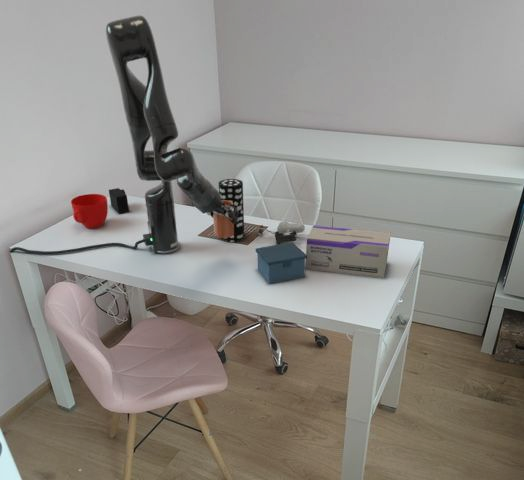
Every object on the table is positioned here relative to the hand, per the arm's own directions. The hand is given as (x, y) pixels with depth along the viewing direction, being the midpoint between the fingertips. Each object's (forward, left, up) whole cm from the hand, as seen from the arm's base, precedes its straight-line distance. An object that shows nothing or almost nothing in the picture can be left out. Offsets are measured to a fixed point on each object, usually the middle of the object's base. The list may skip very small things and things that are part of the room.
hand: (226, 219), depth 172 cm
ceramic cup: (-39, +48, -15) cm, 64 cm away
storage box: (+13, -15, -15) cm, 24 cm away
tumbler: (-1, -1, -4) cm, 5 cm away
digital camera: (-25, +63, -15) cm, 70 cm away
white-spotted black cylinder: (+8, +18, -15) cm, 25 cm away
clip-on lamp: (+23, +11, -15) cm, 29 cm away
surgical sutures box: (+35, -18, -15) cm, 42 cm away
